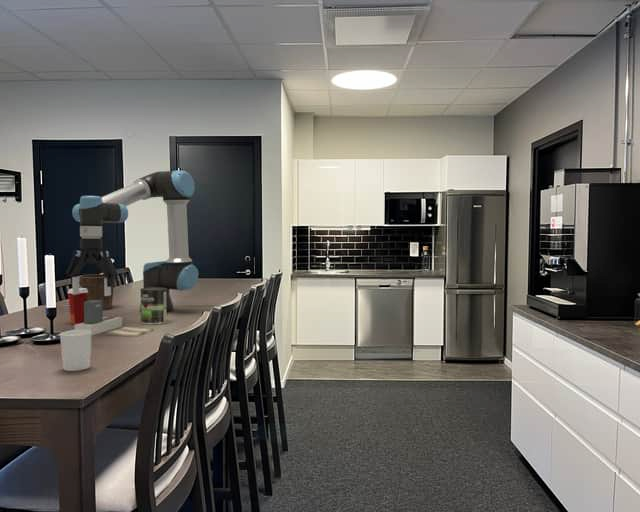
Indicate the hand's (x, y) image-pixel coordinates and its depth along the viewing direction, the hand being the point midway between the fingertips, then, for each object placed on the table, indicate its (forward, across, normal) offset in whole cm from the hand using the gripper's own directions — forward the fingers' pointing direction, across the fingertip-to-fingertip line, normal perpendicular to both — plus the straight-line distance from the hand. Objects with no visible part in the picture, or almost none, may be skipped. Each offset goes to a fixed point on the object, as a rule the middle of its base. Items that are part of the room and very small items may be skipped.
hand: (91, 295), depth 190 cm
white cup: (+15, +28, -43) cm, 53 cm away
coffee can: (+14, +11, +24) cm, 30 cm away
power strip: (+14, 0, +4) cm, 15 cm away
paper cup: (+14, -18, +15) cm, 27 cm away
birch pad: (+14, +14, +3) cm, 20 cm away
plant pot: (+14, -34, +49) cm, 61 cm away
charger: (+12, 0, +1) cm, 12 cm away
